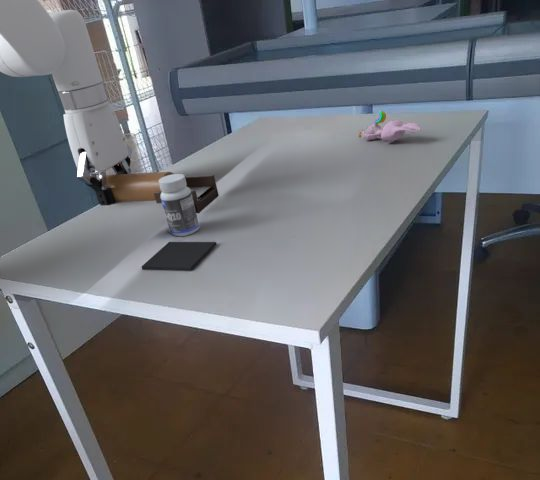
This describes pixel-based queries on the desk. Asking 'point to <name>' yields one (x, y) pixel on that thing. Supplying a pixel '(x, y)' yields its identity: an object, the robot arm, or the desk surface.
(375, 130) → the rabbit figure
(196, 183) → the roll stand
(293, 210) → the desk surface
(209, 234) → the desk surface
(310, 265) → the desk surface
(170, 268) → the coaster
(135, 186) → the paper roll
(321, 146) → the desk surface
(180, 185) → the pill bottle
